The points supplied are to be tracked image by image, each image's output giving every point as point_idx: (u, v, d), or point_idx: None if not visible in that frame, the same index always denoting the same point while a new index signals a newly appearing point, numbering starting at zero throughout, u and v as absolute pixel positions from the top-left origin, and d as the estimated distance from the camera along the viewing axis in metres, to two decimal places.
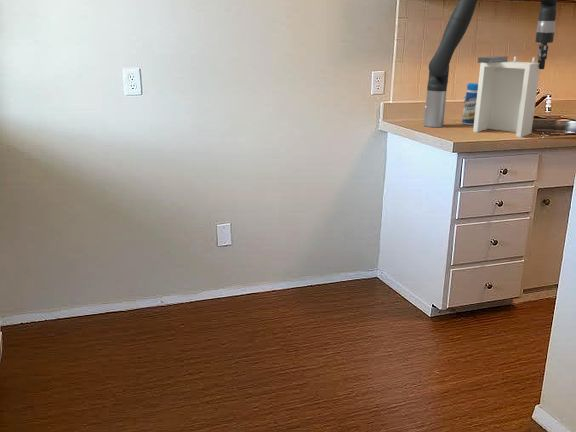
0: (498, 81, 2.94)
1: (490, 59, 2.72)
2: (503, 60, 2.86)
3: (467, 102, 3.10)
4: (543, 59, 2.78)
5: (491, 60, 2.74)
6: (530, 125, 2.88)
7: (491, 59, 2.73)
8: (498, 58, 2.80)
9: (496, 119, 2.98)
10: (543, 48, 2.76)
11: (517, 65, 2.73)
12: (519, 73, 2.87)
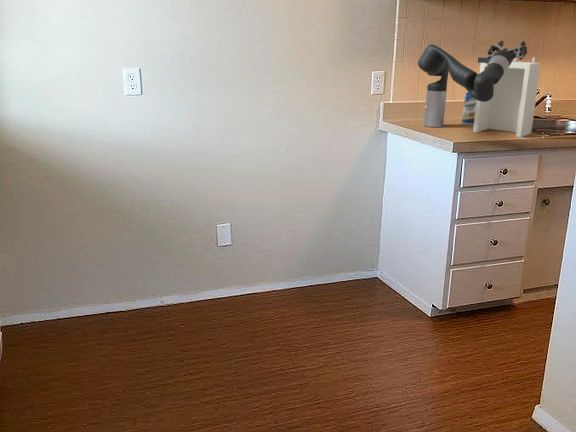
0: None
1: (490, 59, 2.72)
2: None
3: (467, 102, 3.10)
4: None
5: None
6: (530, 125, 2.88)
7: None
8: None
9: (496, 119, 2.98)
10: (522, 56, 2.44)
11: (517, 65, 2.73)
12: (519, 73, 2.87)
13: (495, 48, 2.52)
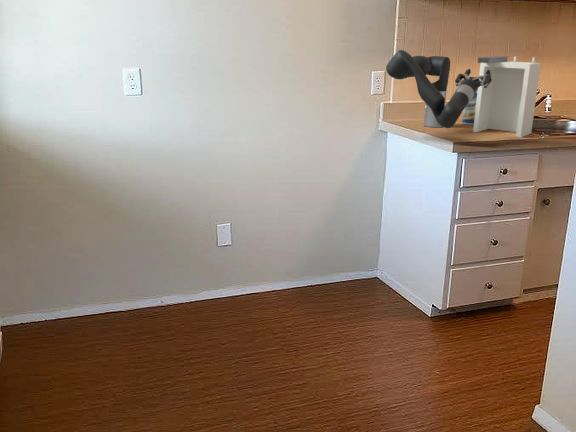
0: (498, 81, 2.94)
1: (490, 59, 2.72)
2: (503, 60, 2.86)
3: None
4: None
5: (491, 60, 2.74)
6: (530, 125, 2.88)
7: (491, 59, 2.73)
8: (498, 58, 2.80)
9: (496, 119, 2.98)
10: (487, 85, 2.62)
11: (517, 65, 2.73)
12: (519, 73, 2.87)
13: (462, 76, 2.70)
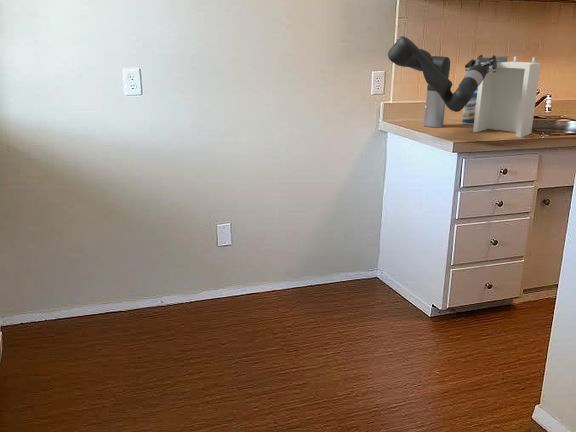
0: (498, 81, 2.94)
1: (490, 59, 2.72)
2: (503, 60, 2.86)
3: None
4: None
5: None
6: (530, 125, 2.88)
7: None
8: (498, 58, 2.80)
9: (496, 119, 2.98)
10: (495, 69, 2.68)
11: (517, 65, 2.73)
12: (519, 73, 2.87)
13: (474, 61, 2.76)
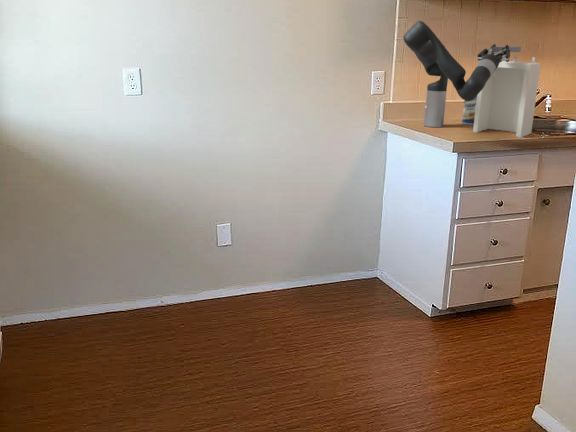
0: (498, 81, 2.94)
1: (503, 48, 2.67)
2: (516, 50, 2.81)
3: (467, 102, 3.10)
4: None
5: None
6: (530, 125, 2.88)
7: None
8: (511, 48, 2.75)
9: (496, 119, 2.98)
10: (509, 58, 2.63)
11: (517, 65, 2.73)
12: (519, 73, 2.87)
13: (487, 51, 2.71)
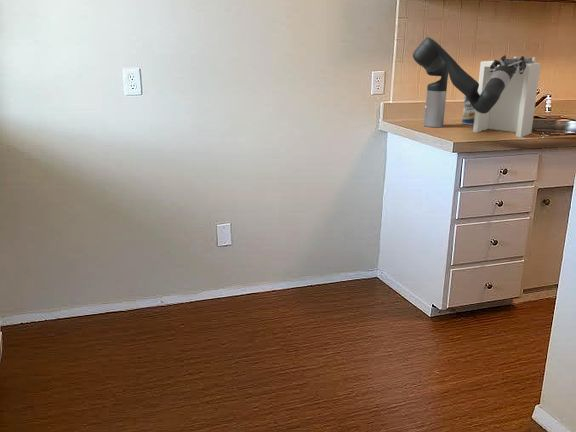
0: None
1: (516, 60, 2.66)
2: (528, 61, 2.79)
3: (467, 102, 3.10)
4: None
5: None
6: (530, 125, 2.88)
7: (517, 60, 2.67)
8: None
9: (496, 119, 2.98)
10: (522, 71, 2.61)
11: None
12: (519, 73, 2.87)
13: (498, 62, 2.69)
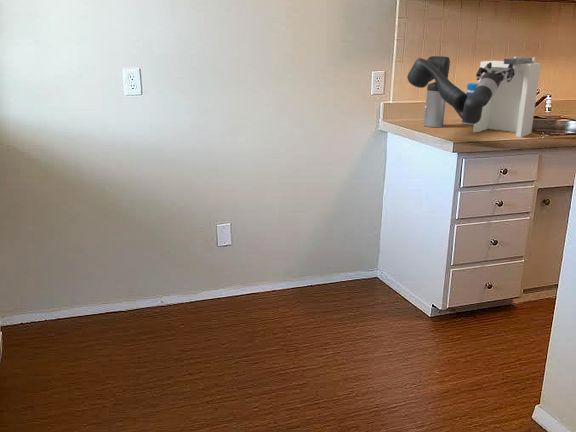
0: None
1: (516, 60, 2.66)
2: (528, 61, 2.79)
3: None
4: None
5: (518, 61, 2.67)
6: (530, 125, 2.88)
7: (517, 60, 2.67)
8: (524, 59, 2.73)
9: (496, 119, 2.98)
10: (510, 78, 2.50)
11: (517, 65, 2.73)
12: (519, 73, 2.87)
13: (483, 70, 2.58)
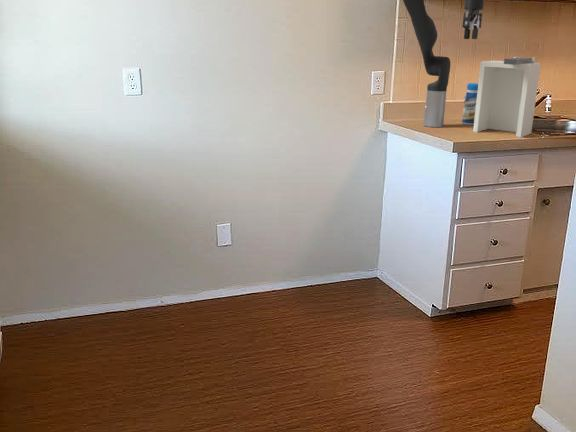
0: (498, 81, 2.94)
1: (516, 60, 2.66)
2: (528, 61, 2.79)
3: (467, 102, 3.10)
4: None
5: (518, 61, 2.67)
6: (530, 125, 2.88)
7: (517, 60, 2.67)
8: (524, 59, 2.73)
9: (496, 119, 2.98)
10: None
11: (517, 65, 2.73)
12: (519, 73, 2.87)
13: None
